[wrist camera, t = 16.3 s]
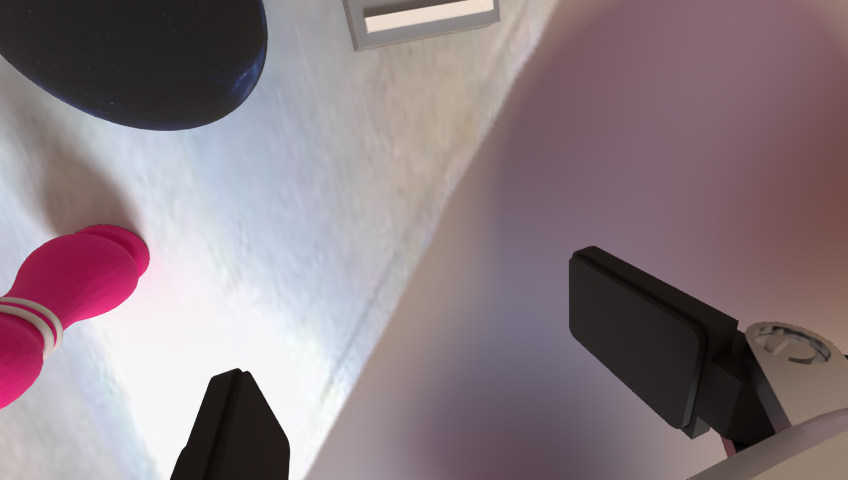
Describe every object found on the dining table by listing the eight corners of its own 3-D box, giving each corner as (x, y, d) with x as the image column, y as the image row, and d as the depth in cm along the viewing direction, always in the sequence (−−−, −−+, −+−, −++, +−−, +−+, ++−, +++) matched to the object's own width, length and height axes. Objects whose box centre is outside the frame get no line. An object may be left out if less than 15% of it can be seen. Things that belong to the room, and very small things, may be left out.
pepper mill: (43, 237, 31) (-313, 420, 13) (124, 207, 32) (-108, 341, 14) (100, 297, 34) (-127, 509, 17) (172, 269, 35) (31, 440, 18)
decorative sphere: (94, 119, 29) (-90, 136, 16) (30, -110, 24) (-332, -377, 10) (283, 127, 33) (264, 146, 20) (267, -64, 28) (226, -211, 15)
